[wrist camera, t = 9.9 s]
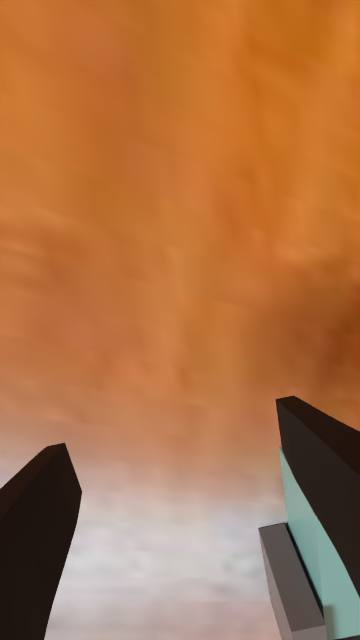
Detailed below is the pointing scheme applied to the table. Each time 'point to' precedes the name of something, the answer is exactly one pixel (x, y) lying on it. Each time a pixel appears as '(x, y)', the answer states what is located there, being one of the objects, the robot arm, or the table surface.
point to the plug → (320, 562)
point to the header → (291, 588)
